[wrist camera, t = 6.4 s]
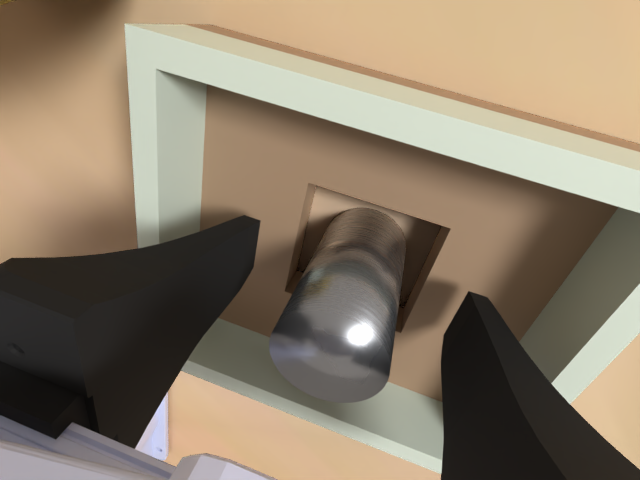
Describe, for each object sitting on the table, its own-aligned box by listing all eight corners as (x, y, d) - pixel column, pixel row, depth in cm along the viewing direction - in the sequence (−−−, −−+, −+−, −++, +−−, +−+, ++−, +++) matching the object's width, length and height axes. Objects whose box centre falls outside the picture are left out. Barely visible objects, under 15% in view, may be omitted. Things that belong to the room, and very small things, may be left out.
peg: (393, 288, 15) (372, 417, 10) (319, 266, 16) (264, 379, 11) (416, 221, 14) (406, 336, 9) (333, 198, 14) (275, 294, 9)
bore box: (475, 399, 17) (484, 491, 14) (197, 296, 19) (143, 356, 15) (659, 149, 11) (763, 205, 7) (210, 24, 12) (124, 23, 9)
